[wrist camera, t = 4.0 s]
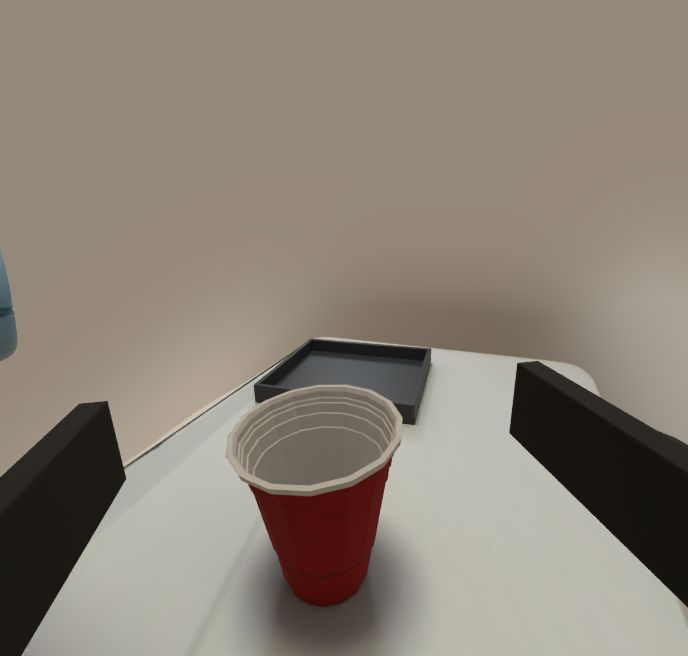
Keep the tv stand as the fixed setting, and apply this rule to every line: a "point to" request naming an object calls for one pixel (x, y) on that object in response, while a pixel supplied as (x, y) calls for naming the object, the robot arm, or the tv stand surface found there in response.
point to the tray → (353, 371)
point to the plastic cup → (319, 481)
